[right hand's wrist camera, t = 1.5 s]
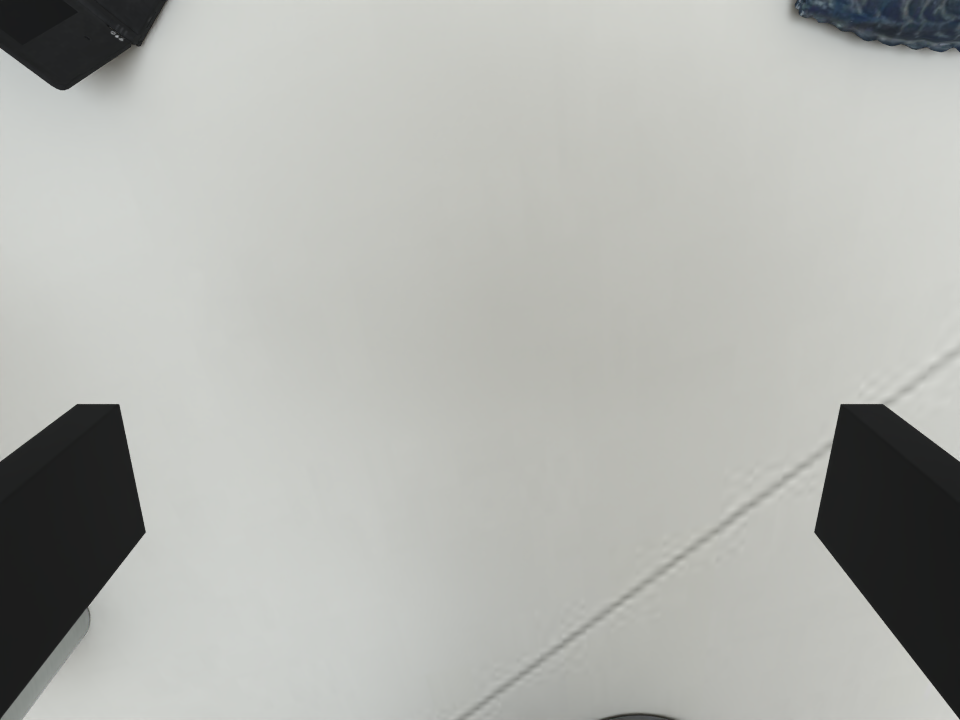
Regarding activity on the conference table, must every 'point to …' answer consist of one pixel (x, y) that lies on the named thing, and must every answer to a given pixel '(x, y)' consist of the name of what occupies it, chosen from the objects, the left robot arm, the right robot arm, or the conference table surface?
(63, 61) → the handheld gaming console
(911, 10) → the fish model
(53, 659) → the bottle
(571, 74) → the conference table surface
